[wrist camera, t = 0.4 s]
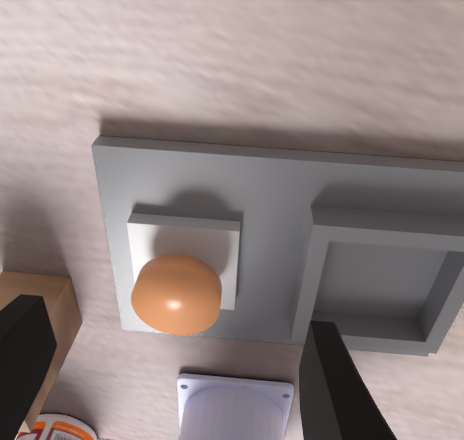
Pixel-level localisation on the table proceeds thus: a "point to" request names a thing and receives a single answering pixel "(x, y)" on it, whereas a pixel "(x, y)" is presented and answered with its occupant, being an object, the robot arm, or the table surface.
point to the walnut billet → (61, 317)
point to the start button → (177, 294)
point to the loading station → (293, 237)
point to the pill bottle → (58, 429)
